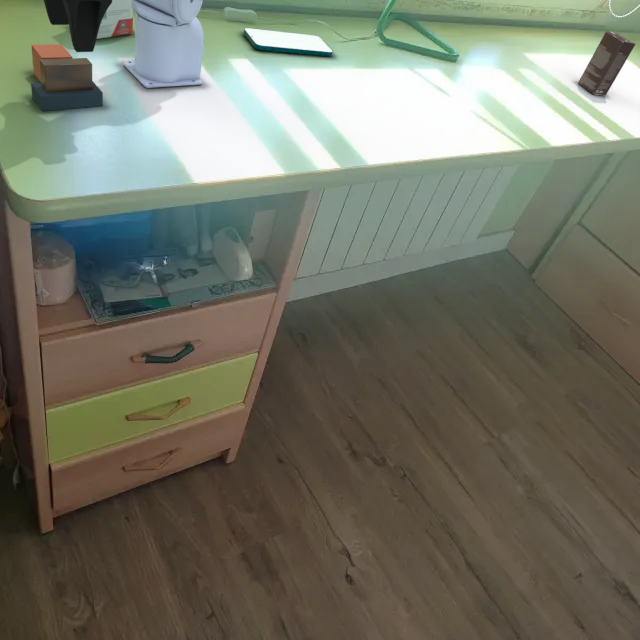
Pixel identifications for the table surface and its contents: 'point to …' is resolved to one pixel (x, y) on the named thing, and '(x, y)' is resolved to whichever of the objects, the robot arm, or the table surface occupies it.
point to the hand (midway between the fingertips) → (71, 37)
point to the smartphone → (287, 42)
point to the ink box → (117, 19)
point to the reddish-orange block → (47, 55)
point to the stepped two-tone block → (66, 85)
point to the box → (606, 63)
